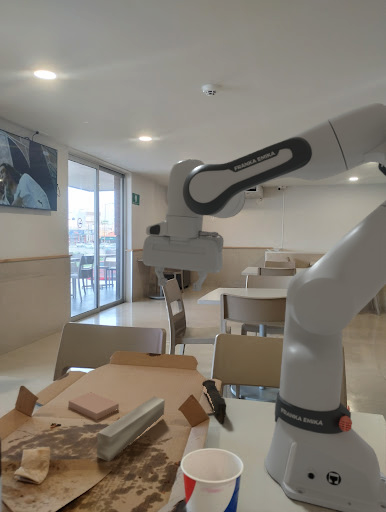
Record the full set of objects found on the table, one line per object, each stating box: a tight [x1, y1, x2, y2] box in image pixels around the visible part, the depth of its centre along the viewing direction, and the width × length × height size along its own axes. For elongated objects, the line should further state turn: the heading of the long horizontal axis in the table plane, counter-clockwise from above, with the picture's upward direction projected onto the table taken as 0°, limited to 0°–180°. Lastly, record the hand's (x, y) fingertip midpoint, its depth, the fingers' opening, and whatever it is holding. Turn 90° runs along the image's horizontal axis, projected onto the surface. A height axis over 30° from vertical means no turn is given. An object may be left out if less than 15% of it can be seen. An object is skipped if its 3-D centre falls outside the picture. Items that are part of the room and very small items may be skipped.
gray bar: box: [96, 396, 166, 462], centre depth 80 cm, size 3×20×5 cm, turn 154°
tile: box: [67, 391, 120, 421], centre depth 91 cm, size 2×7×10 cm
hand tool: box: [201, 379, 227, 424], centre depth 96 cm, size 19×4×5 cm, turn 5°
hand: (179, 288), depth 88 cm, fingers open, 8 cm apart
